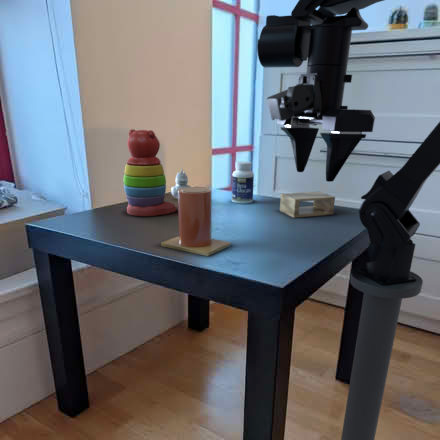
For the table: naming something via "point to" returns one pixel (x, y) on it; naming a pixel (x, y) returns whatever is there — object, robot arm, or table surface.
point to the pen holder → (195, 216)
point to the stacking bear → (145, 176)
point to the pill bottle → (242, 183)
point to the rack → (320, 206)
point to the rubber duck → (180, 183)
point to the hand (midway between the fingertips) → (314, 176)
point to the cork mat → (204, 250)
